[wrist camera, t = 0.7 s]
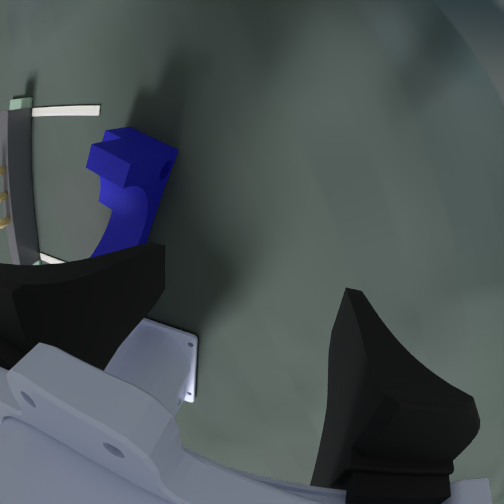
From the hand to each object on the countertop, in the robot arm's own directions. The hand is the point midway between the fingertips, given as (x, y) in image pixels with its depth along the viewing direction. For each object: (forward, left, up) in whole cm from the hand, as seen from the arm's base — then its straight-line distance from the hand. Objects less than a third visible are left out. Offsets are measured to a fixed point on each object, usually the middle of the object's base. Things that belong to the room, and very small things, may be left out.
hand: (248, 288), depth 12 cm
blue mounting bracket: (-2, +12, -10) cm, 16 cm away
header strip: (-2, +26, -10) cm, 28 cm away
